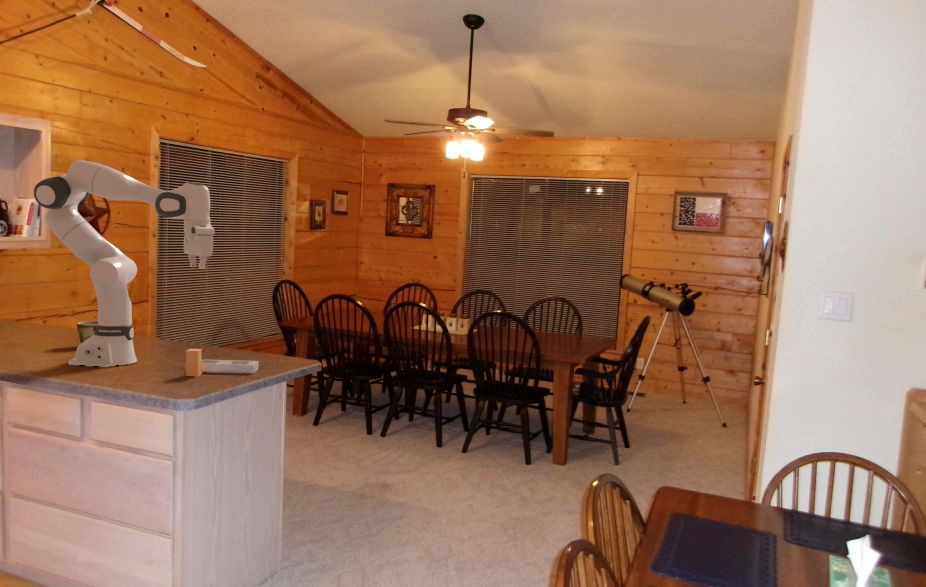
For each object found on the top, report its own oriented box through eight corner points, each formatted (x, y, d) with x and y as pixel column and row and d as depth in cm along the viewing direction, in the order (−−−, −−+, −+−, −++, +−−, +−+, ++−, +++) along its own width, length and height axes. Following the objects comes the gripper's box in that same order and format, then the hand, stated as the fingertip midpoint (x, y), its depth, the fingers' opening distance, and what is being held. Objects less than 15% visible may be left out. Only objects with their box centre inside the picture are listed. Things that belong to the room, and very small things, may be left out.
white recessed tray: (189, 372, 252) (189, 363, 252) (197, 367, 260) (197, 359, 260) (253, 373, 253) (253, 365, 253) (258, 369, 261) (258, 360, 261)
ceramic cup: (100, 349, 286) (99, 324, 285) (73, 349, 285) (72, 324, 284) (110, 343, 299) (110, 320, 298) (85, 343, 298) (84, 319, 297)
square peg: (186, 376, 245) (185, 350, 244) (189, 374, 249) (189, 348, 248) (198, 376, 245) (197, 351, 244) (201, 374, 249) (201, 348, 248)
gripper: (178, 228, 259) (179, 266, 260) (197, 229, 243) (198, 270, 244) (196, 228, 263) (196, 266, 264) (216, 229, 247) (216, 269, 248)
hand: (197, 268), depth 254 cm, fingers open, 8 cm apart
